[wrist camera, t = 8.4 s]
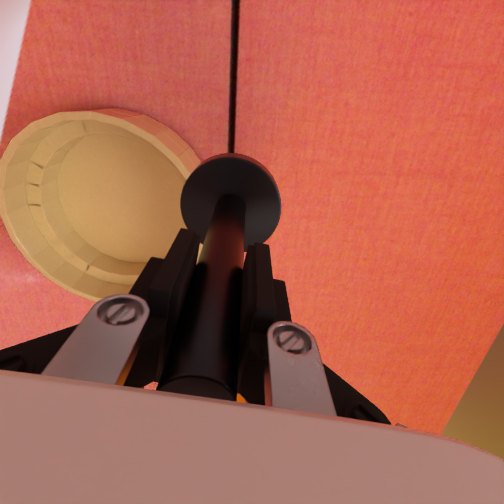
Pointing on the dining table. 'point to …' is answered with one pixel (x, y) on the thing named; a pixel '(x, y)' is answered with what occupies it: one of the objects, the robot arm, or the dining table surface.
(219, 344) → the black plunger
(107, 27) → the dining table surface
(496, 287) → the dining table surface
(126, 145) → the bowl
